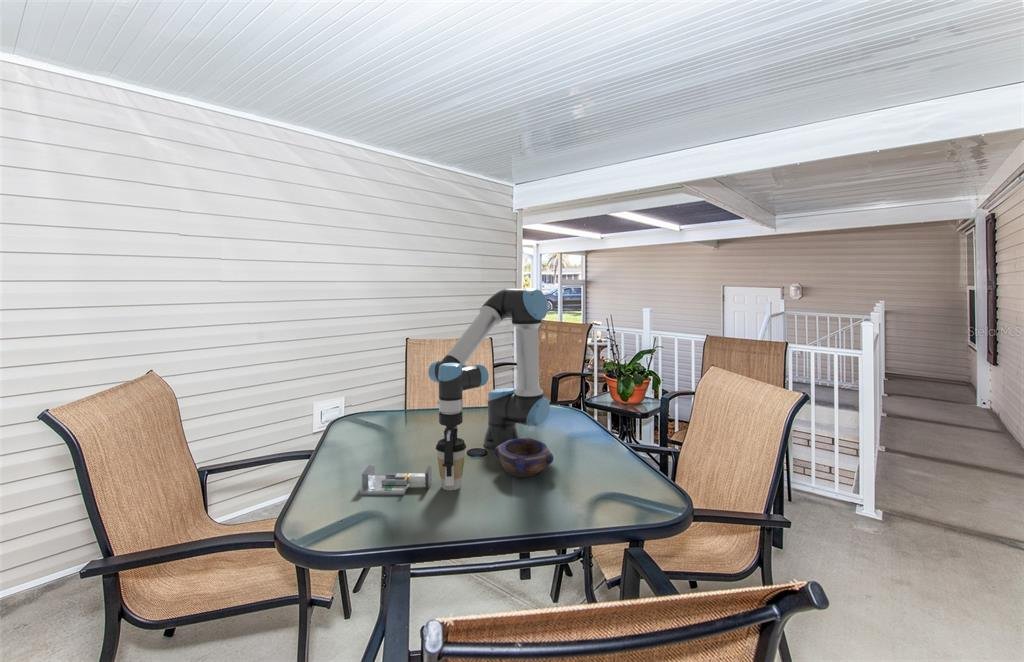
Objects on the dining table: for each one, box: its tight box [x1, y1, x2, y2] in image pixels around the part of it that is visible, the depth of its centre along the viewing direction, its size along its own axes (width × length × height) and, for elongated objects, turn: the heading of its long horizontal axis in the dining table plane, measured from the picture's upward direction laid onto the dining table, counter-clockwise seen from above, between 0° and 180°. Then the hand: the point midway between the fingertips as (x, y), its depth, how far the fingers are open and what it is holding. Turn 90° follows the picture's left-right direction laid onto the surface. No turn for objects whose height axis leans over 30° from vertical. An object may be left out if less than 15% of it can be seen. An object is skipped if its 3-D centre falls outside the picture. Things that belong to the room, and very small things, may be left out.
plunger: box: [395, 465, 433, 489], centre depth 149 cm, size 11×8×5 cm
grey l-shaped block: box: [359, 465, 411, 496], centre depth 150 cm, size 14×12×6 cm
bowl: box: [494, 437, 554, 478], centre depth 161 cm, size 18×18×10 cm
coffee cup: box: [435, 437, 467, 491], centre depth 150 cm, size 10×10×15 cm
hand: (451, 479), depth 150 cm, fingers closed on coffee cup, 9 cm apart
